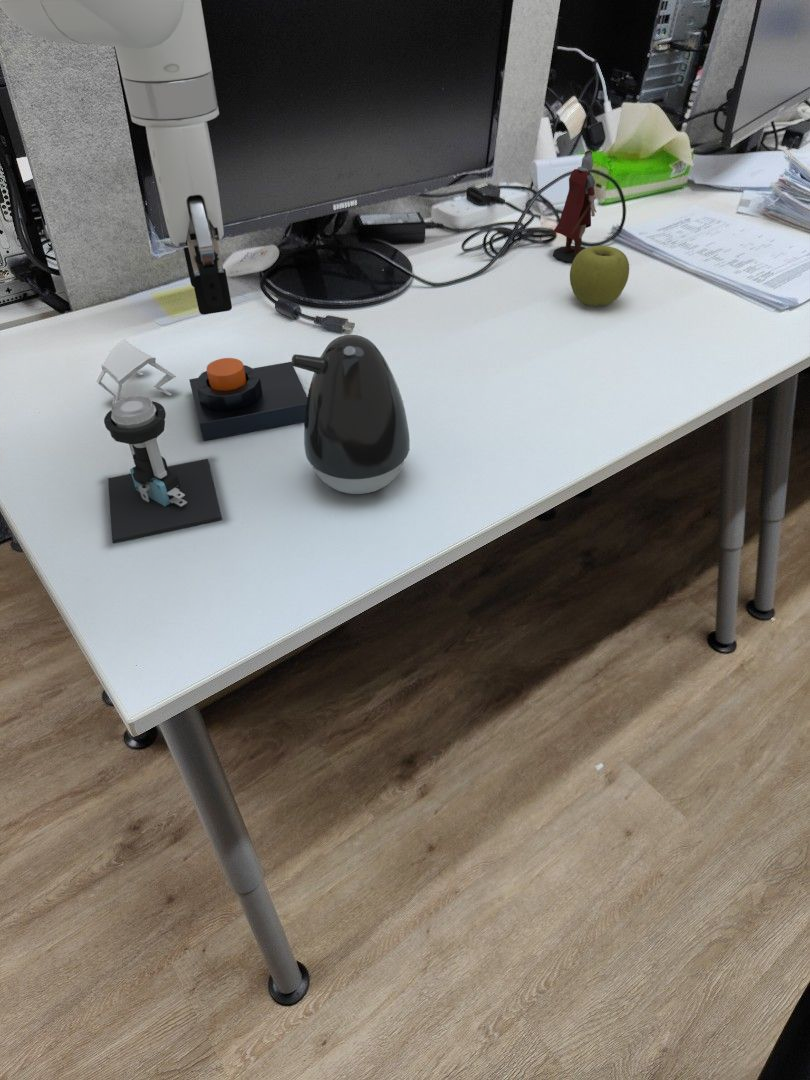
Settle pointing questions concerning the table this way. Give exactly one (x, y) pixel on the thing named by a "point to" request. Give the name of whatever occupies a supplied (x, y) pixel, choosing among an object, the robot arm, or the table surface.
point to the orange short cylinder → (226, 374)
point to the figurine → (577, 210)
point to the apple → (599, 275)
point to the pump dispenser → (354, 417)
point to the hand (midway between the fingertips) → (211, 296)
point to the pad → (152, 517)
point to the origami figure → (129, 367)
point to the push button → (145, 447)
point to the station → (250, 402)
